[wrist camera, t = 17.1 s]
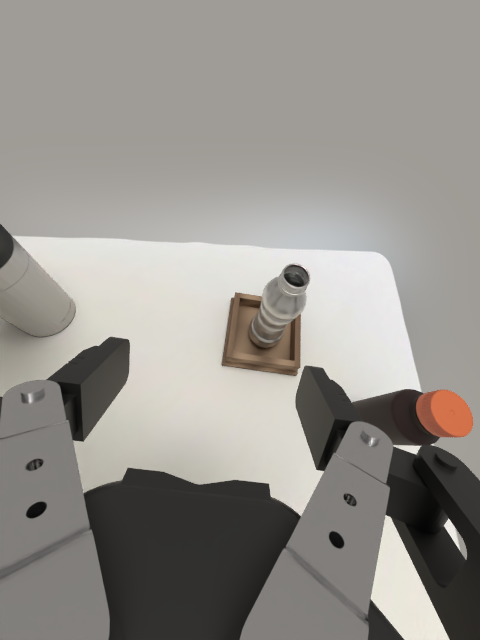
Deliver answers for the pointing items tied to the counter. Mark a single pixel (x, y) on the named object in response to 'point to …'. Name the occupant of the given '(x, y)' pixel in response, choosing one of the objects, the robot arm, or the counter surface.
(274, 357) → the square wooden tray
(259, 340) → the silver metal bottle
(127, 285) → the counter surface
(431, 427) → the vinegar
